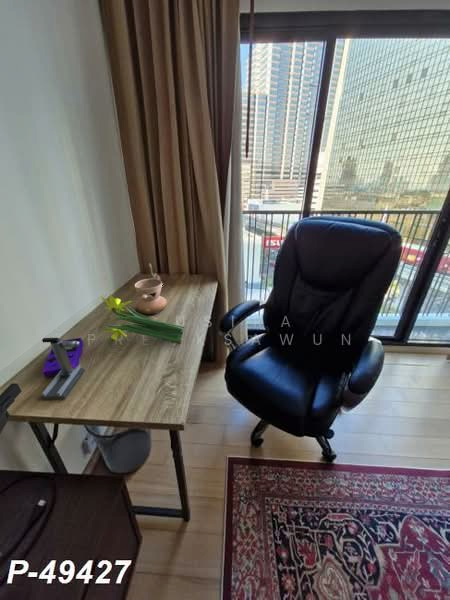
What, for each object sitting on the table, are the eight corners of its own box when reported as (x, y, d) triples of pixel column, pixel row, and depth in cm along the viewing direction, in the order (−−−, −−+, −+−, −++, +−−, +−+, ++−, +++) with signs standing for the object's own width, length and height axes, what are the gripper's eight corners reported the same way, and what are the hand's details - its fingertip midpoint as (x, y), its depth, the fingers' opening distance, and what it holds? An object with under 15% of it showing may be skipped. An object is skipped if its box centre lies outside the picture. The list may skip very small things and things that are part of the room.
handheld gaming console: (40, 371, 81) (53, 340, 93) (46, 382, 84) (58, 351, 96) (72, 365, 83) (81, 336, 95) (77, 376, 86) (85, 346, 98)
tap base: (41, 400, 74) (38, 393, 73) (64, 371, 85) (61, 365, 84) (65, 399, 74) (62, 393, 73) (84, 371, 85) (82, 365, 84)
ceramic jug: (162, 318, 116) (158, 290, 109) (131, 318, 116) (125, 290, 110) (171, 301, 132) (168, 275, 125) (144, 300, 132) (140, 275, 126)
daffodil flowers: (174, 358, 92) (79, 334, 90) (179, 353, 106) (97, 332, 104) (186, 313, 93) (93, 289, 91) (189, 314, 108) (108, 293, 106)
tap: (54, 377, 81) (39, 341, 74) (60, 370, 83) (45, 335, 77) (87, 376, 81) (74, 341, 74) (91, 370, 83) (79, 335, 77)
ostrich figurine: (159, 296, 137) (154, 265, 129) (147, 296, 138) (142, 264, 130) (170, 284, 152) (166, 255, 143) (159, 284, 153) (155, 255, 144)
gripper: (-112, 507, 43) (-4, 398, 64) (-37, 506, 44) (47, 397, 65) (-142, 483, 40) (-17, 376, 61) (-59, 481, 40) (37, 375, 61)
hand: (16, 387), depth 63 cm, fingers closed
